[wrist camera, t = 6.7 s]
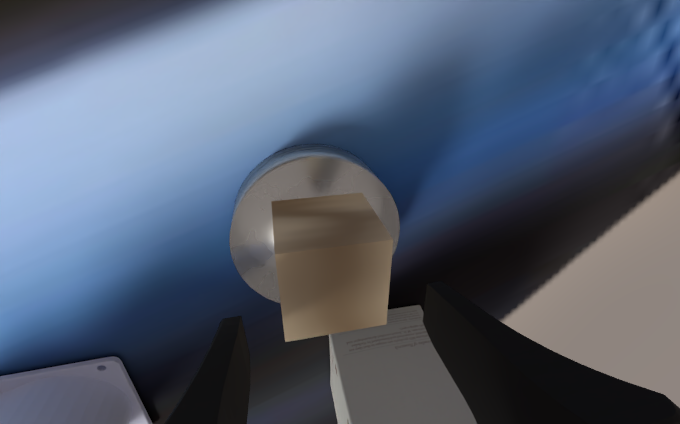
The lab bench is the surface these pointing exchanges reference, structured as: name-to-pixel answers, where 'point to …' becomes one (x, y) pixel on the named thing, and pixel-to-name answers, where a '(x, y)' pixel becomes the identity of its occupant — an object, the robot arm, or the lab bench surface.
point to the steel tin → (294, 183)
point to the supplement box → (393, 375)
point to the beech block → (331, 265)
